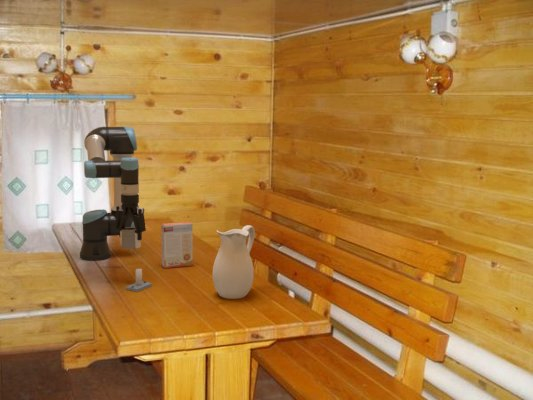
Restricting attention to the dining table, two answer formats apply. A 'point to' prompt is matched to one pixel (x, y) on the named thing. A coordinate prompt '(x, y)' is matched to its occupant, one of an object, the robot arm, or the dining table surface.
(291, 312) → the dining table surface
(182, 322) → the dining table surface
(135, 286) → the shaft stand
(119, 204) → the robot arm
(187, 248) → the cracker box
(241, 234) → the pitcher
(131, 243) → the tube
